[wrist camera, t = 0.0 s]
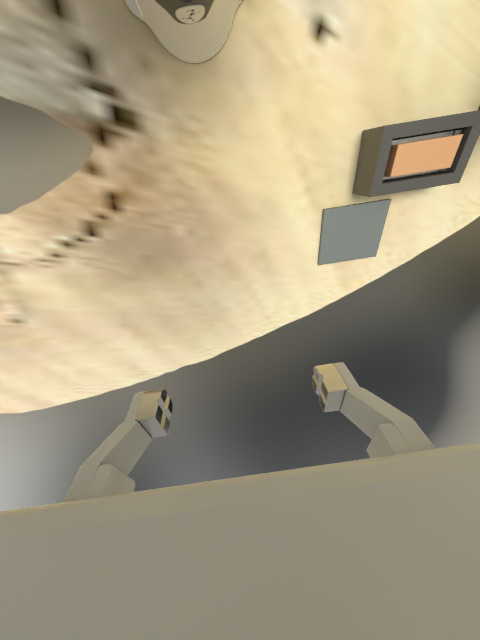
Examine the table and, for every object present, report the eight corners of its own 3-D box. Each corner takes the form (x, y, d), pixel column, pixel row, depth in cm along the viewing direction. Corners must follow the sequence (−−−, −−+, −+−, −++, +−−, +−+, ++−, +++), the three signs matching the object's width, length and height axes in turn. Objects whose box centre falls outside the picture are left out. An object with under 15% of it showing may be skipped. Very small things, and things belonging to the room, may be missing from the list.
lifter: (377, 180, 45) (383, 180, 44) (386, 141, 41) (392, 140, 40) (439, 170, 45) (446, 170, 43) (453, 130, 41) (462, 129, 40)
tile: (382, 176, 44) (390, 176, 42) (389, 145, 41) (398, 144, 39) (439, 167, 44) (450, 167, 42) (451, 135, 41) (463, 134, 39)
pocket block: (352, 193, 49) (369, 196, 44) (363, 130, 43) (384, 125, 37) (431, 180, 49) (459, 182, 44) (454, 115, 43) (490, 108, 37)
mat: (323, 209, 51) (324, 209, 50) (388, 198, 51) (391, 199, 50) (317, 264, 59) (318, 265, 59) (374, 255, 59) (375, 256, 59)
